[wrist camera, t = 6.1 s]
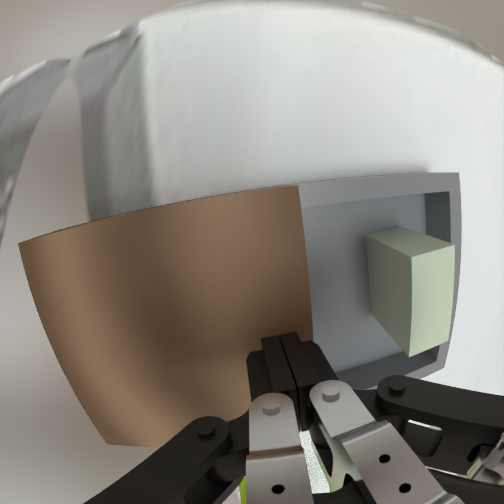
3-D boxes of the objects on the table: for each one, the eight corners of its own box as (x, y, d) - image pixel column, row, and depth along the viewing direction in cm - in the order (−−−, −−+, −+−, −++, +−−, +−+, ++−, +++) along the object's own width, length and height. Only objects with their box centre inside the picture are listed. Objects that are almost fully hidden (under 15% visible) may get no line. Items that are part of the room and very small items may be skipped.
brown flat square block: (121, 406, 17) (107, 444, 13) (58, 230, 14) (18, 243, 10) (301, 386, 17) (316, 427, 14) (278, 185, 14) (298, 185, 11)
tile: (408, 357, 11) (448, 340, 11) (411, 257, 10) (454, 244, 10) (370, 313, 16) (404, 303, 16) (364, 234, 15) (401, 226, 15)
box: (301, 386, 17) (312, 415, 15) (278, 185, 14) (292, 185, 12) (422, 348, 18) (444, 367, 15) (427, 172, 15) (458, 172, 12)
